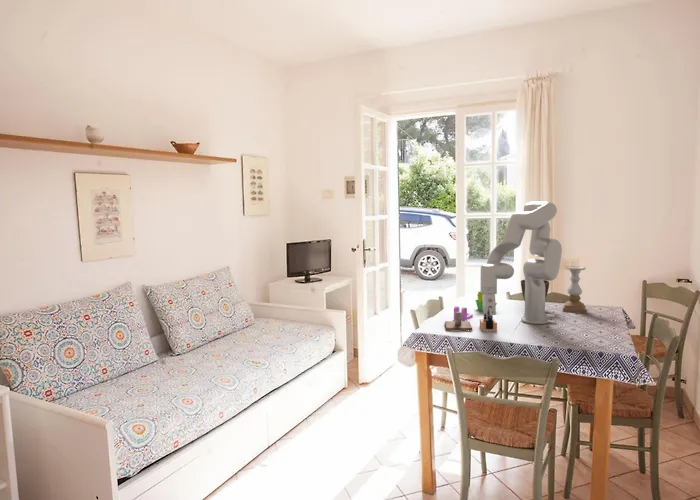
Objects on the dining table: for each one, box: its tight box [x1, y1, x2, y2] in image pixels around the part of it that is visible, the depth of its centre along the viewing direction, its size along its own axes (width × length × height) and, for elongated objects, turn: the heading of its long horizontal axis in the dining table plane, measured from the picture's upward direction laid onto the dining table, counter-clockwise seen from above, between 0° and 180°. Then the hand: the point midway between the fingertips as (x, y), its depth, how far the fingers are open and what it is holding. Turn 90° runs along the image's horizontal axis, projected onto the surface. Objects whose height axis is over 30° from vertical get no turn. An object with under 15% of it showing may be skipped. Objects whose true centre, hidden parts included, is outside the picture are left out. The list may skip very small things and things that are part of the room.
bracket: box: [453, 305, 474, 321], centre depth 256 cm, size 13×6×7 cm, turn 142°
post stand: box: [444, 311, 473, 332], centre depth 238 cm, size 12×12×8 cm
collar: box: [479, 318, 498, 332], centre depth 235 cm, size 7×7×4 cm
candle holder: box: [562, 265, 587, 314], centre depth 267 cm, size 11×11×24 cm
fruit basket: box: [475, 291, 498, 312], centre depth 271 cm, size 11×9×11 cm
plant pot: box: [520, 279, 550, 302], centre depth 270 cm, size 15×15×16 cm
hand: (488, 326), depth 235 cm, fingers closed on collar, 7 cm apart
